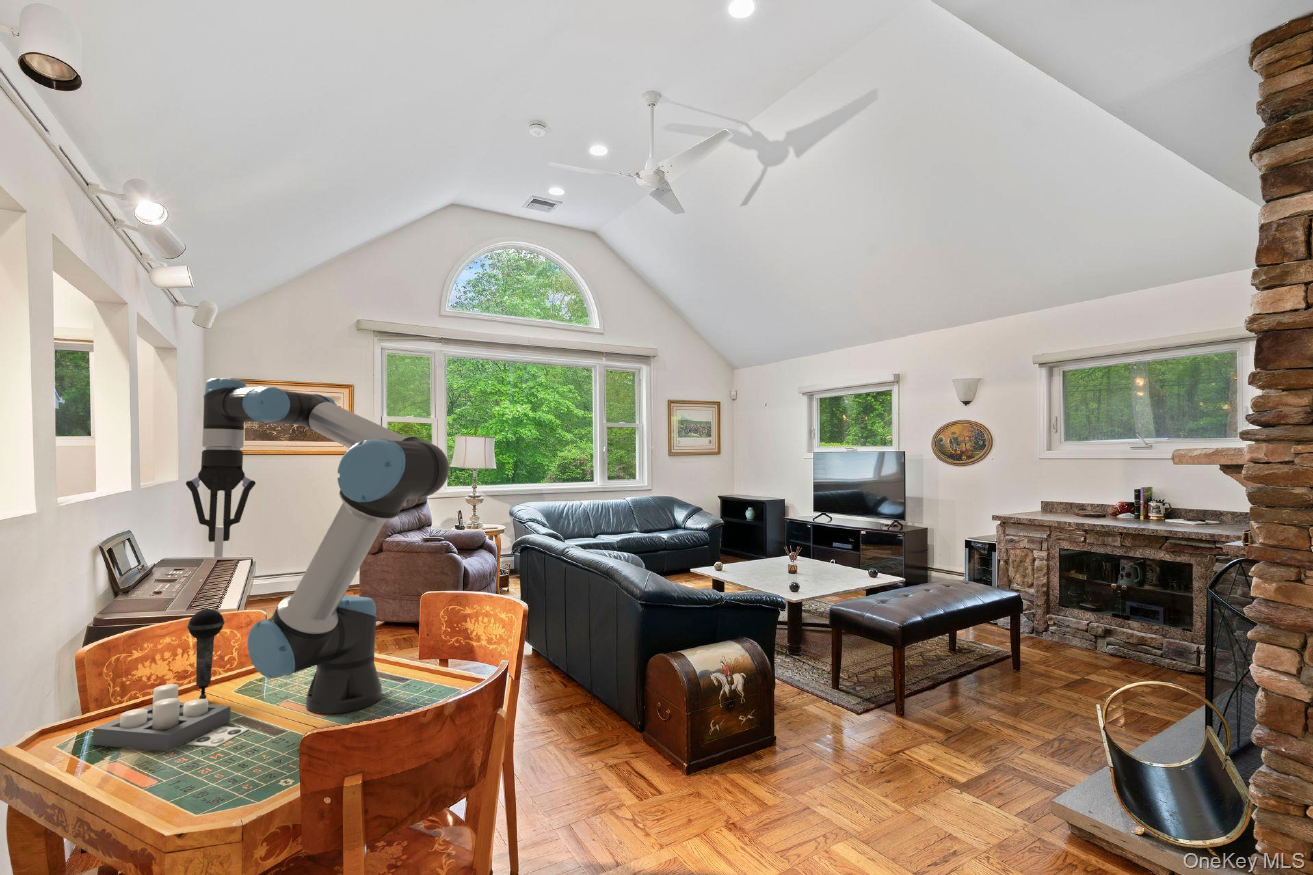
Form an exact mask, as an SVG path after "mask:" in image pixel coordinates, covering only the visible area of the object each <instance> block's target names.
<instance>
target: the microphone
mask: <svg viewBox="0 0 1313 875" xmlns="http://www.w3.org/2000/svg"><path fill="white" fill-rule="evenodd" d="M225 622H226V621H225V619H224V616H223V615H222V613H221V612H220V611H218V610H216V609H212V608H206V609H202V610H199V611H197V612H196V613H195V614H193V615H192V616H191V617H190V619H189V621H188V624H187V626H186V628H187V630H188V632H189V635H191V636H192V637H193V638H194V639H196V656H195V657H196V662H195V663H196V665H195V666H196V670H195V671H196V673H195V674H196V675H195V676H196V678H195V680H196V682H195V683H196V687H198V689H200V695H199V697H198V699H207V694H206V688H208V687H209V685H211V682H212V669H213V657H214V647H215V646H214V645H215V644H214V643H215V637H216V636H218V634H220V632H221V631H222V629H223V627H224V625H225Z"/></svg>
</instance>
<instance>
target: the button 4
mask: <svg viewBox="0 0 1313 875" xmlns="http://www.w3.org/2000/svg"><path fill="white" fill-rule="evenodd" d="M183 703H184V707H183V716H188V717H197V716H199V715H202V714H204V713H206V712H208V704H209V699H207V698H206V699H199V698H198V699H192V700H188V701H185V702H183Z"/></svg>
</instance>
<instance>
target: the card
mask: <svg viewBox="0 0 1313 875" xmlns="http://www.w3.org/2000/svg"><path fill="white" fill-rule="evenodd" d="M249 730H250V728H245V727H236V726H234V727H233V726H225V725H221V726H219V727H217V728H215V729H213V730H211V731H209V732H207V733H205V734H203V735H201V736H199V737H197V738H195V739H193V740H191V741H189V742H187V744H186V745H188V746H194V747H195V746H198V747H208V748H217V747H219V746H221V745H223V744H225V743H226V742H228V741H230V740H232V739H234V738H236V737H238V736H241V735H242V734H244V733H245V732H248V731H249Z"/></svg>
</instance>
